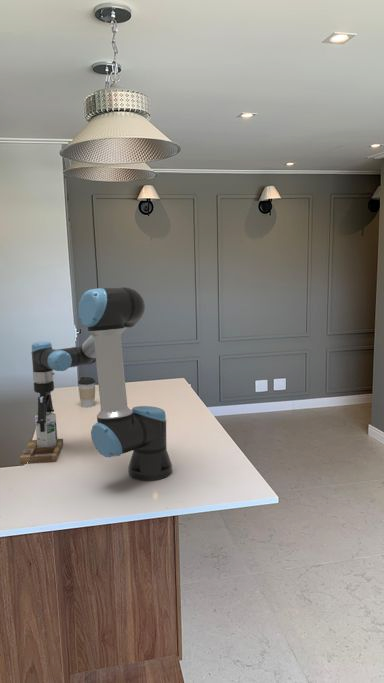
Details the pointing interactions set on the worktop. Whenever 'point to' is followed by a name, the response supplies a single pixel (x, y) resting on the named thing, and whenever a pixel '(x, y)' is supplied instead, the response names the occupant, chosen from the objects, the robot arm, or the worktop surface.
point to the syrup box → (48, 431)
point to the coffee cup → (87, 391)
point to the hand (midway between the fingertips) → (46, 433)
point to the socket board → (33, 449)
